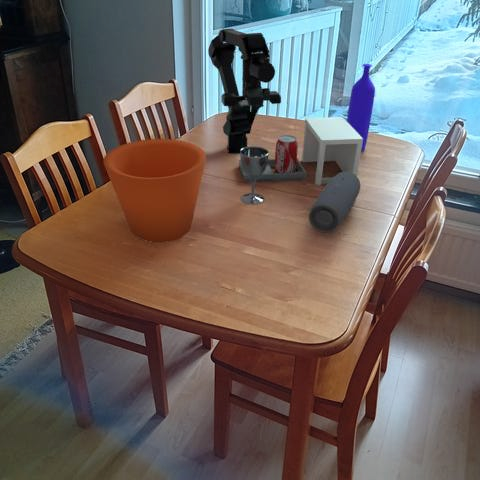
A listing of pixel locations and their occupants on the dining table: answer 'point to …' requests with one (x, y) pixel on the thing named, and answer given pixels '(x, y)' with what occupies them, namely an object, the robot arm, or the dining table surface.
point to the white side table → (331, 145)
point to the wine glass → (253, 170)
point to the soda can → (286, 154)
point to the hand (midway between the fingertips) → (250, 124)
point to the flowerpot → (157, 185)
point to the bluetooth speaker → (334, 202)
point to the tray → (271, 176)
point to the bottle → (361, 105)
